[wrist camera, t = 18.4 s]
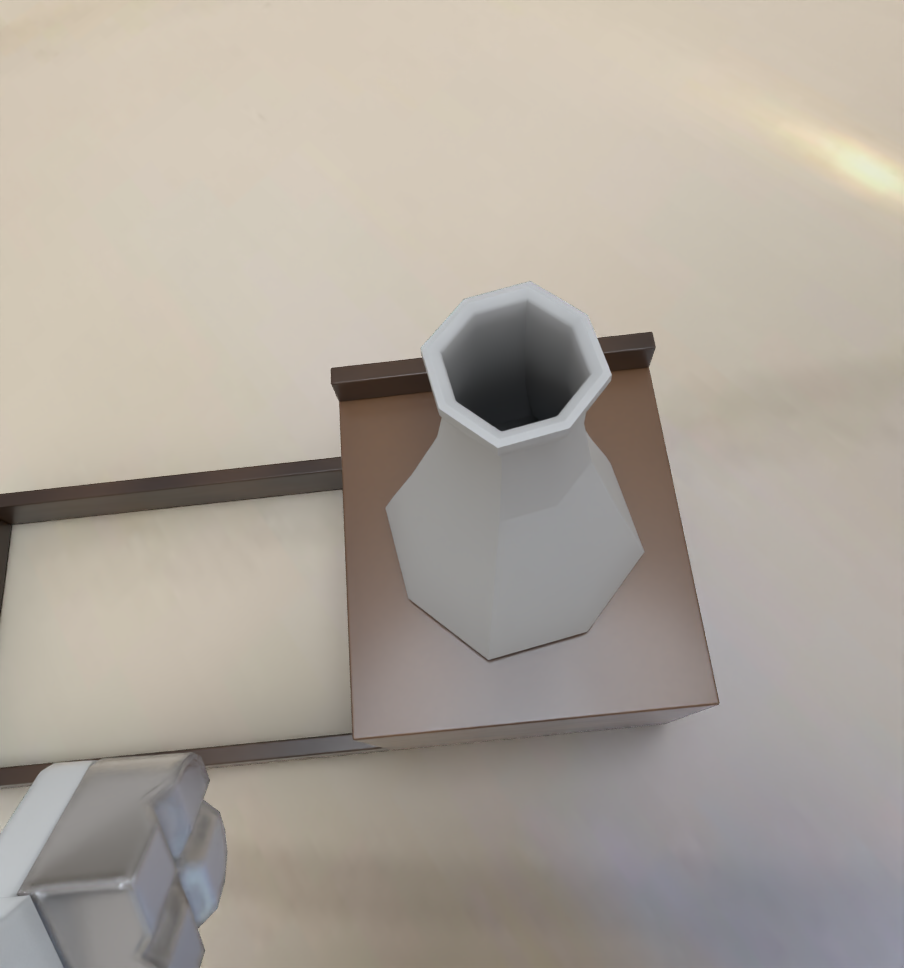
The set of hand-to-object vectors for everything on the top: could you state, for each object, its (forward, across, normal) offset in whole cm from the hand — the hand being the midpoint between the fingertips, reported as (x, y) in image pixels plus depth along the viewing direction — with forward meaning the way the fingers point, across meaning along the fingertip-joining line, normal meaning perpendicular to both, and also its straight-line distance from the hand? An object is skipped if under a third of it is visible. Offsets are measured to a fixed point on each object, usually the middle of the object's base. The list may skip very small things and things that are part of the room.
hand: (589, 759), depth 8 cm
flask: (+14, 0, +5) cm, 15 cm away
